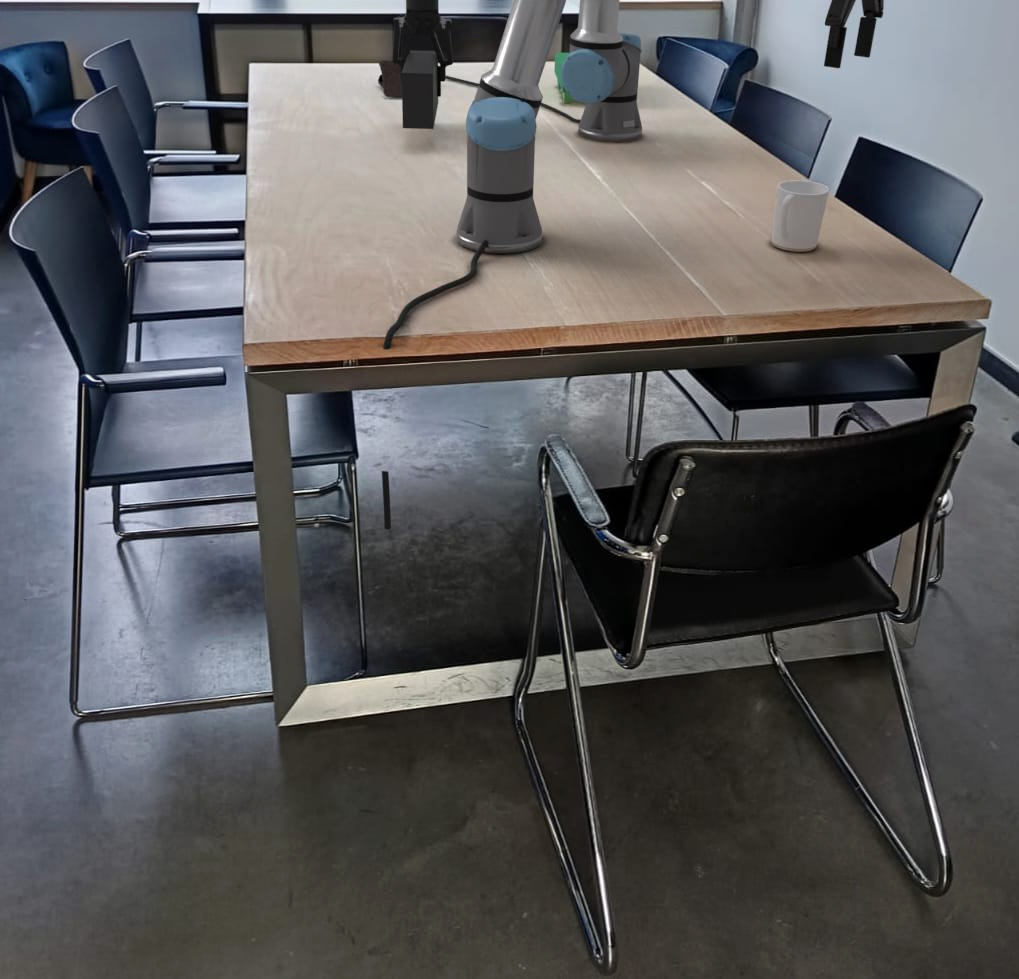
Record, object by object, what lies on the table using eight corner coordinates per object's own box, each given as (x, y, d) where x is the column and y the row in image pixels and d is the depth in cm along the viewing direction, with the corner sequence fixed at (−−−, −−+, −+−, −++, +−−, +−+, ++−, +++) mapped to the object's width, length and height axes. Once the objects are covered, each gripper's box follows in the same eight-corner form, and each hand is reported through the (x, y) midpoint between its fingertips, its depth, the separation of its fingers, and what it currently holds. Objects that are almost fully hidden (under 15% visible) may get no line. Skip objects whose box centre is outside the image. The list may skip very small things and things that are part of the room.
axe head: (443, 87, 294) (392, 77, 287) (436, 115, 299) (385, 106, 292) (421, 62, 307) (371, 52, 300) (414, 89, 311) (365, 80, 304)
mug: (783, 233, 202) (791, 177, 197) (827, 243, 197) (837, 187, 192) (754, 247, 195) (762, 190, 189) (799, 259, 190) (809, 200, 185)
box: (433, 129, 246) (433, 73, 239) (402, 128, 245) (401, 72, 239) (438, 102, 268) (438, 51, 262) (410, 101, 268) (409, 50, 261)
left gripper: (876, -78, 194) (854, 49, 205) (818, -70, 177) (798, 68, 188) (918, -75, 190) (893, 54, 201) (863, -67, 173) (839, 74, 184)
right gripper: (465, -10, 255) (464, 92, 267) (380, -13, 255) (383, 90, 267) (464, -6, 249) (464, 99, 261) (377, -8, 248) (380, 97, 260)
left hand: (847, 61), depth 194 cm, fingers open, 13 cm apart
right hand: (423, 94), depth 264 cm, fingers closed on box, 7 cm apart
